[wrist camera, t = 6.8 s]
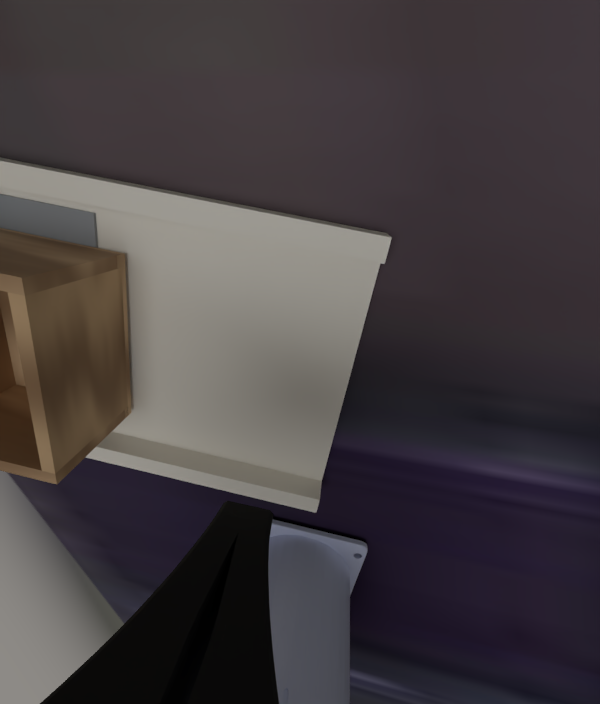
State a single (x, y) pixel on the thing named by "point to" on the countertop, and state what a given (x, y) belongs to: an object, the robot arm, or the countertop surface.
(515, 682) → the countertop surface
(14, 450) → the crate
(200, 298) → the tray
